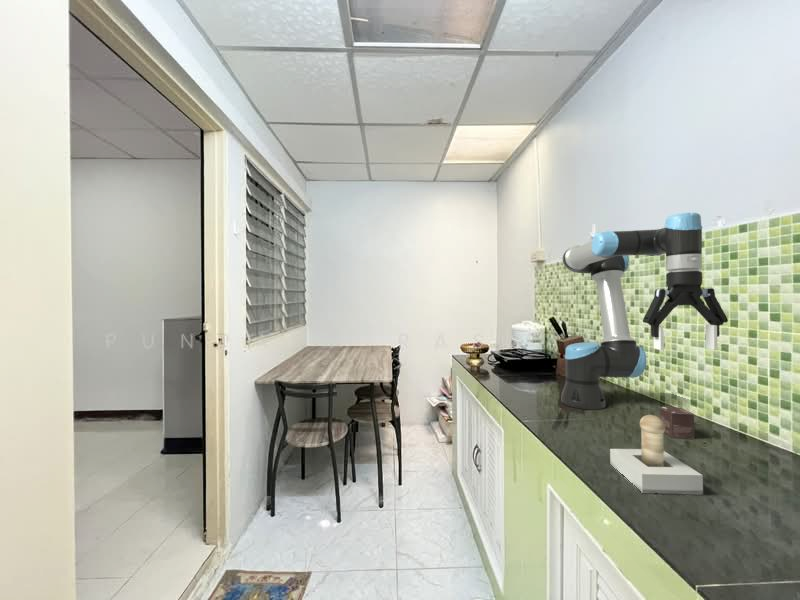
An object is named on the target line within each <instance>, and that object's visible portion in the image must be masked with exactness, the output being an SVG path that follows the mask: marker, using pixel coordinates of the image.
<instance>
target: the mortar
mask: <svg viewBox="0 0 800 600" xmlns="http://www.w3.org/2000/svg"><path fill="white" fill-rule="evenodd" d="M609 452H610V453H609V458H610V459H609V460H610V463H609V465H610V464H611V465H612V466H613V467H614V468H615V469H617V470H618V471H619V472H620V473H621V474H623V475H624V476H625V477H626V478H627V479H628V480H629V481H630V482H631V483H633V485H632V486H634V485H635V486H636V487H637V488H638V489H639V490H640V491H641V494H654V493H658V495H661V494H663V495H666V494H667V495H668V494H669V495H704V484H703V483H704V477H703V476H704V475H703V474H701V473H700V472H699V471H697V470H695V469H694V468H692V467H690V466H689V465H687V464H686V463H684V462H683V461H681V460H679V459H677V458H676V457H674V456H672V455H671V454H669V453H668V452H666V451H665V450H664V467H648V466H646V465H645V464H644V463H642V448H610V449H609ZM611 465H610V466H611ZM612 466H611V467H612ZM613 467H612V468H613ZM614 468H613V469H614ZM615 469H614V470H615ZM617 470H616V471H617ZM618 471H617V472H618ZM619 472H618V473H619ZM620 473H619V474H620ZM621 474H620V475H621ZM625 477H624V478H625ZM626 478H625V479H626ZM627 479H626V480H627ZM628 480H627V481H628ZM629 481H628V482H629ZM630 482H629V483H630ZM631 483H630V484H631ZM635 486H634V487H635ZM636 487H635V488H636ZM637 488H636V489H637ZM638 489H637V490H638ZM639 490H638V491H639ZM640 491H639V492H640Z"/></svg>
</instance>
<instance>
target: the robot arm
mask: <svg viewBox="0 0 800 600" xmlns="http://www.w3.org/2000/svg"><path fill="white" fill-rule="evenodd" d="M702 253H703V226H702V218H701V214H699V213H697V212H684V213H677V214H671V215H670V216H668V217H666V219H665V223H664V227H662V228H656V229H640V230H639V229H638V230H622V231H621V230H620V231H617V230H616V231H615V230H614V231H610V230H608V231H607V230H606V231H603V232H602V231H600V232H596V233H595V234H594V235H593V237H592V239H591V241H589V242H586V243H583V244H582V245H573V246H572V247H569V248H568V249H567V250H565V252H564V253H563V255H562V264H563V265H564V267H565V268H566V269H567V270H569V271H571V272H573V273H575V274H576V273H577V274H590V276H591V278H590V279H592V281H594V282H596V283H595V285H596V290H597V296H598V305H599V309H600V317H601V325H602V330H603V337H604V338H603V340H601V341H600V343H598V342H592V341H590V342H584V341H583V342H577V343H571V344H568V345H567V346H566V347H565V350H564V351H565V353H564V354H565V355H564V360H565V363H564V364H565V384H564V386H563V389H562V391H561V395H560V402H561V403H562V404H563V405H566V406H568V407H571V408H575V409H576V408H577V409H581V410H582V409H583V410H603V409H605V408H606V403H607V402H606V399H605V396H604V393H603V390H602V387H601V381H600V379H601V378H623V379H628V378H638V377H641V376H642V375H643V373H644V372H645V370H646V366H647V355H646V351H645V350H644V348H643V347H641V346H640V345H639V346H638V345H637V340H635V339H634V338H632V337H631V333H630V327H629V321H628V314H627V310H626V303H625V297H624V292H623V291H624V290H623V286H622V279H621V278H622V277H624V275H625V272H627V270H628V269H629V266H630V265H629V263H630V257H629V256H648V257H655V256H657V257H658V256H662V255H665V270H666V272H667V273H666V275H665V279H666V280H665V283H666V284H665V285H666V286H667V289H665V288H664V289H663V288H662V289H661V288H659V289H658V288H656V289H655V290H654V297H653V299H652V300H651V303H650V305H649V306H648V309H647V311H646V313H645V315H644V317H643V319H642V323H645V324H647V325H650V336H651V337H652V338H653V349H655V350H658V351H664V349H665V345H664V343H665V341H664V339H665V338H664V325H661V324H662V323H663V322H664V321H665V319H666V318H667V317H668V316H669V315H670V313H672V311H673V310H674V309H676V308H677V307H678V306H691V307H693V308H694V309H695V310H696V311H697V313H699V314H700V316H702V318H703V319H704V320H705V321H706V322H707V323H708V324H705V349H708V350H715V351H716V350H718V338H719V337H720V326H723V325H724V323H728V322H729V320H728V319H729V318H728V317H727V315H726V313H725V312H724V310H723V308H722V306H721V305H720V302H719V301H718V299H717V297H716V294H715V291H716V290H715V289H714V288H713V287H709V288H703V289H702V287H701V286H702V284H703V272H702V271H700V270H702V268H703V254H702ZM666 297H667V298H668V299H667V300H665V298H666ZM701 297H702V298H703V299H702V298H701ZM703 300H704V301H703ZM664 301H665V302H664ZM663 303H664V304H663ZM662 305H663V306H662Z"/></svg>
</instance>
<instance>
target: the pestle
mask: <svg viewBox="0 0 800 600" xmlns="http://www.w3.org/2000/svg"><path fill="white" fill-rule="evenodd" d="M639 428H640V429H641V430H640V431H641V432H640V433H641V449H642V463H644V464H645V465H646V466H648V467H664V451H665V449H664V445H665V443H664V442H665V441H664V436H665V435H664V434H665V433H664V431H665V425H664V423H663V421H662V420H661V419H660V417H659V416H656V415H654V414H647V415H644V416H642V418H640V421H639Z"/></svg>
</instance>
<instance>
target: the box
mask: <svg viewBox="0 0 800 600" xmlns="http://www.w3.org/2000/svg"><path fill="white" fill-rule="evenodd" d="M659 418H660V419H661V420H662V421H663V423H664V425H665V431H664V433H663V434H665V435H668V436H669V437H671V438H672V439H691V440H695V438H696V436H695V414H694V413H692V412H690V411H689V410H686V409H684V408H682V407H672V406H671V407H669V406H660V407H659Z"/></svg>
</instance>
